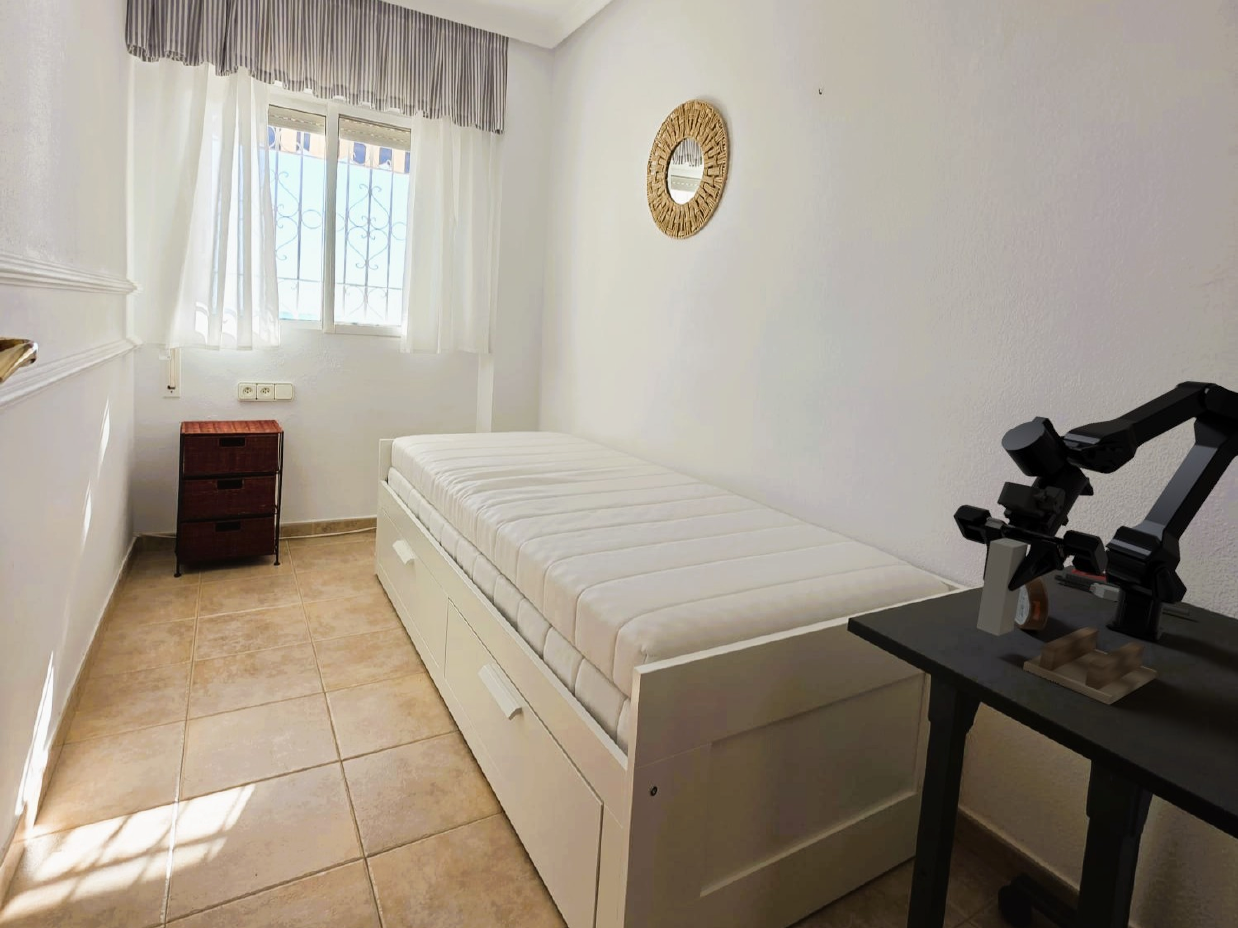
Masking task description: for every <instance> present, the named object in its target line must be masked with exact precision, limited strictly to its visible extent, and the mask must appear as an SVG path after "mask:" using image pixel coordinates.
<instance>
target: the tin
mask: <svg viewBox="0 0 1238 928" xmlns="http://www.w3.org/2000/svg"><path fill="white" fill-rule="evenodd" d="M1044 581H1045V580H1043V578H1042V576H1040V577H1038V578H1036V579H1034V580H1032V581H1030V582H1029V583H1027V584H1025V585H1023V586H1021V588H1020V594H1019V600H1018V606H1017V612H1016V617H1015V623H1014V625H1015V626H1016V627H1017V628H1019V629H1021V630H1025V631H1026V630H1029V631H1036V632H1041V631H1042V630H1044V628H1045V626H1046V624H1047V621H1048V617H1049V595H1048V591H1047V586H1046V584H1045V582H1044Z"/></svg>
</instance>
